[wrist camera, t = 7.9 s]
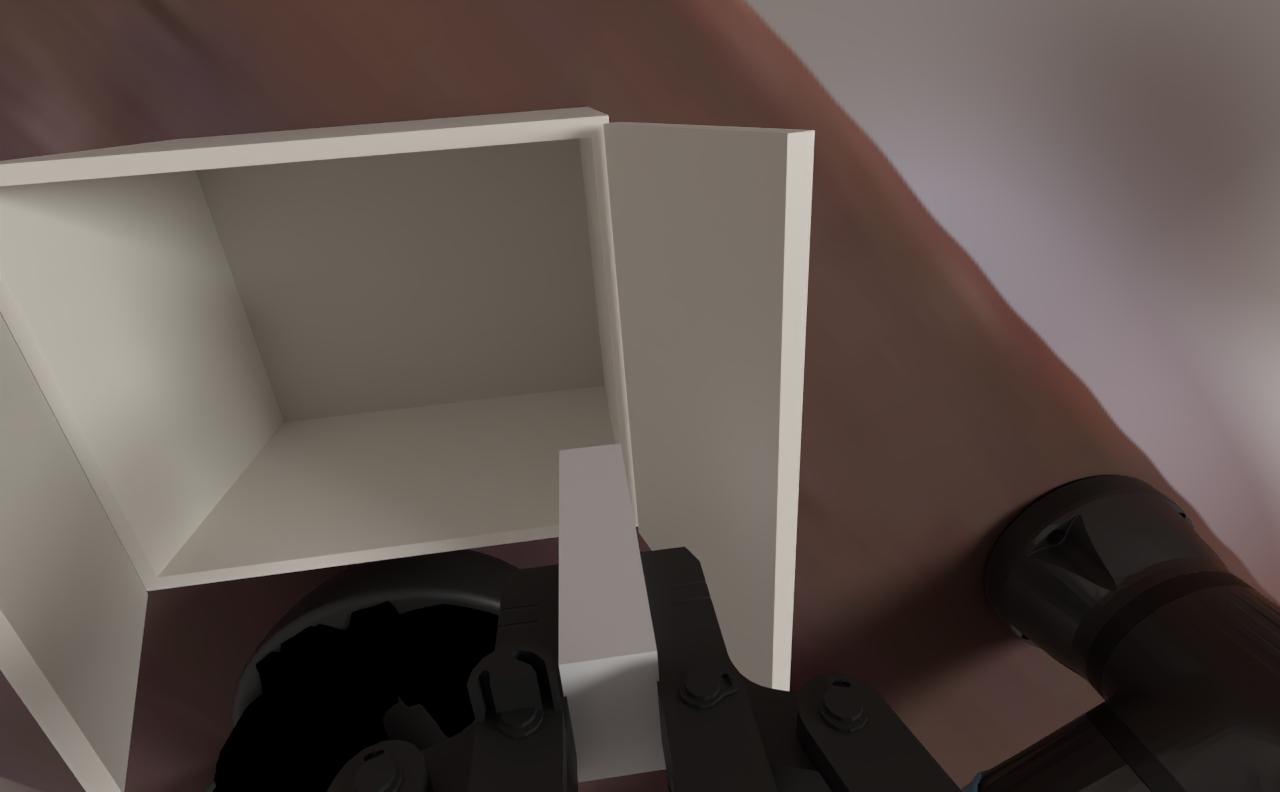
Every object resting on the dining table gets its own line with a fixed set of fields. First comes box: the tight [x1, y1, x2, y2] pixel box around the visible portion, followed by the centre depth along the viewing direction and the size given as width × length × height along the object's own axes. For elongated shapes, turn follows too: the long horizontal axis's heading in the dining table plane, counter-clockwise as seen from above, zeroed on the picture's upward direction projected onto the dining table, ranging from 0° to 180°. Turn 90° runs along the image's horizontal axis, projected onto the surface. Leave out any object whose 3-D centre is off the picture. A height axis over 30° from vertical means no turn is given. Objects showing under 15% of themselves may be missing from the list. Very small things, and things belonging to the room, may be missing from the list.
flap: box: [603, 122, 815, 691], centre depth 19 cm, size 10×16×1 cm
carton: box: [0, 107, 638, 591], centre depth 29 cm, size 20×16×14 cm
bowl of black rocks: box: [213, 549, 578, 792], centre depth 37 cm, size 20×20×19 cm
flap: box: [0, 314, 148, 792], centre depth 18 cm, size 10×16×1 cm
